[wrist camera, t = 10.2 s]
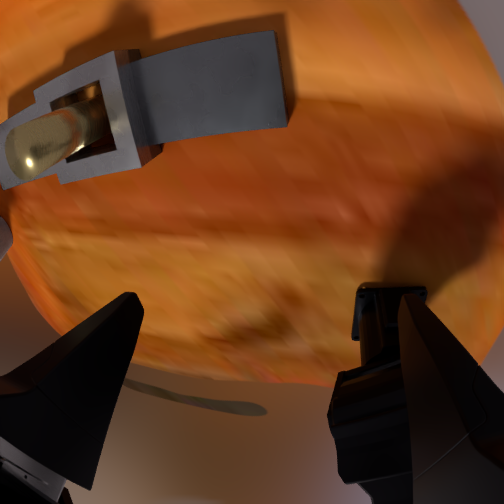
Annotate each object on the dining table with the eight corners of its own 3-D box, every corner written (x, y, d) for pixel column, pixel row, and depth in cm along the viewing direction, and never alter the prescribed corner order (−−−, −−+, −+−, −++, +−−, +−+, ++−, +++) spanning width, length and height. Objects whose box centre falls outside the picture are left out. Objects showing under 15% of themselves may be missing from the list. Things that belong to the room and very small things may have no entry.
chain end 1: (162, 152, 21) (141, 167, 18) (27, 184, 25) (6, 199, 22) (139, 48, 16) (113, 50, 14) (5, 115, 20) (-18, 125, 18)
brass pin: (128, 128, 20) (45, 175, 13) (96, 136, 21) (15, 185, 14) (118, 88, 18) (28, 120, 11) (87, 100, 19) (-1, 136, 12)
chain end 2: (290, 136, 19) (288, 142, 18) (83, 168, 23) (72, 176, 21) (273, 18, 14) (270, 14, 13) (60, 82, 18) (47, 86, 17)
